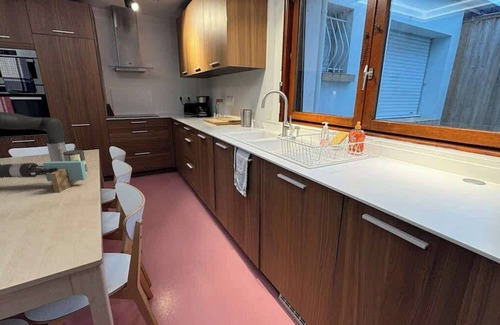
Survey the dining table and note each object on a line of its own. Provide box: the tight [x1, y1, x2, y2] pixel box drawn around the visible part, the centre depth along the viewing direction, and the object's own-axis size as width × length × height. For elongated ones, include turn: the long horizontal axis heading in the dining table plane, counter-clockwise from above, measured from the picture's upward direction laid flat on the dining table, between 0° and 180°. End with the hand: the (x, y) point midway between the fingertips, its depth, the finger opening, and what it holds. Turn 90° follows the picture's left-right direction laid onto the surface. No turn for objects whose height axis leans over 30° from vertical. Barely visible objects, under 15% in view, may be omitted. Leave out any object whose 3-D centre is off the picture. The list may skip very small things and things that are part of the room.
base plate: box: [50, 169, 81, 193], centre depth 128 cm, size 20×2×10 cm, turn 6°
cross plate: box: [42, 161, 88, 182], centre depth 127 cm, size 3×18×10 cm, turn 96°
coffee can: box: [63, 149, 88, 174], centre depth 147 cm, size 10×10×14 cm
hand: (60, 169), depth 127 cm, fingers closed on cross plate, 3 cm apart
